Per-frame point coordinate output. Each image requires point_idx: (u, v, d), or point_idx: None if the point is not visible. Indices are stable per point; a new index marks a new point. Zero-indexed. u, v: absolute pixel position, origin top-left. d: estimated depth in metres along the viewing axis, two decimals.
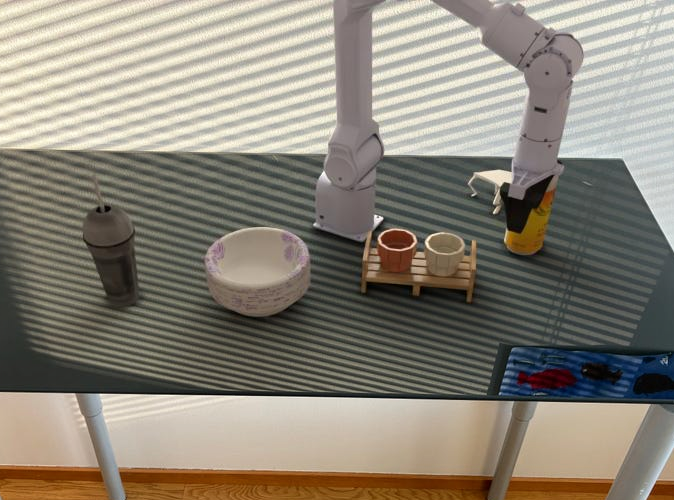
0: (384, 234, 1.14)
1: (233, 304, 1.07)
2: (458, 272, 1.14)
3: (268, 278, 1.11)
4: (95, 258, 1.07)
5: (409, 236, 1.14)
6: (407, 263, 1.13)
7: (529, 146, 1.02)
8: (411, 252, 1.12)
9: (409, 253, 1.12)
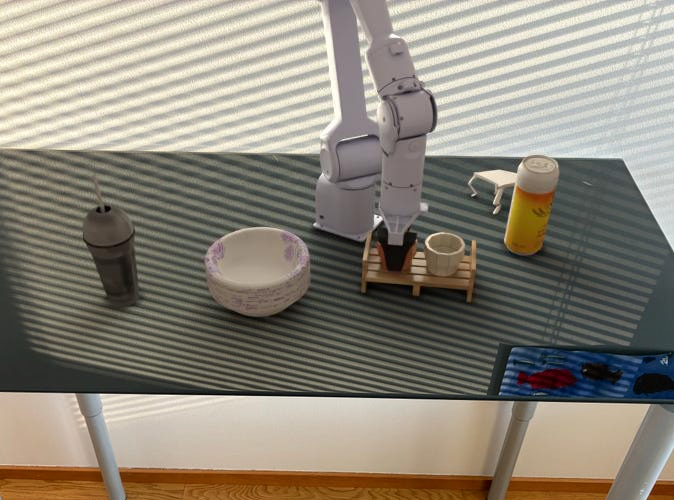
0: None
1: (233, 304, 1.07)
2: (458, 272, 1.14)
3: (268, 278, 1.11)
4: (95, 258, 1.07)
5: None
6: (407, 263, 1.13)
7: (396, 194, 1.04)
8: (411, 252, 1.12)
9: (409, 253, 1.12)
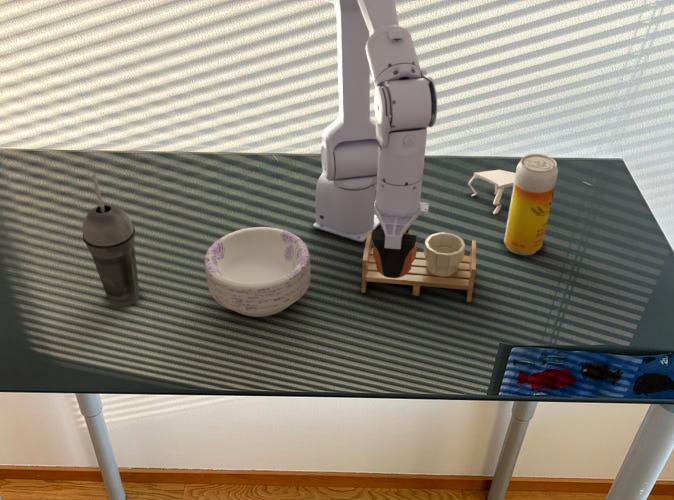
0: None
1: (233, 304, 1.07)
2: (458, 272, 1.14)
3: (268, 278, 1.11)
4: (95, 258, 1.07)
5: None
6: (406, 268, 1.04)
7: (393, 192, 0.95)
8: (410, 256, 1.02)
9: (408, 257, 1.02)
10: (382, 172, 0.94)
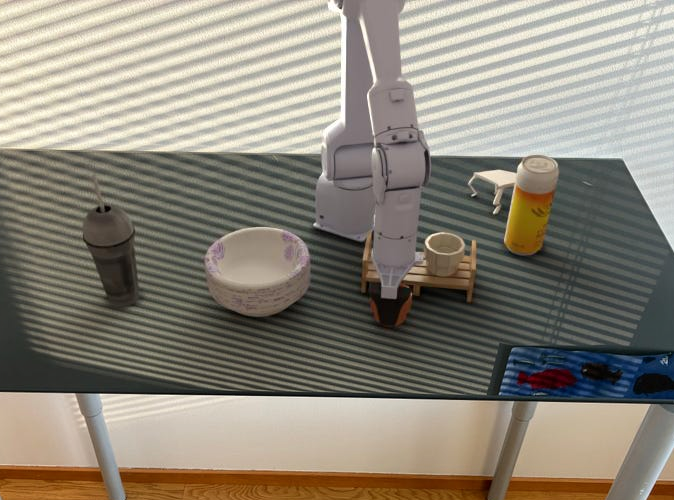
0: None
1: (233, 304, 1.07)
2: (458, 272, 1.14)
3: (268, 278, 1.11)
4: (95, 258, 1.07)
5: None
6: (401, 317, 1.09)
7: (389, 245, 0.99)
8: (405, 306, 1.07)
9: (403, 308, 1.07)
10: (379, 226, 0.99)
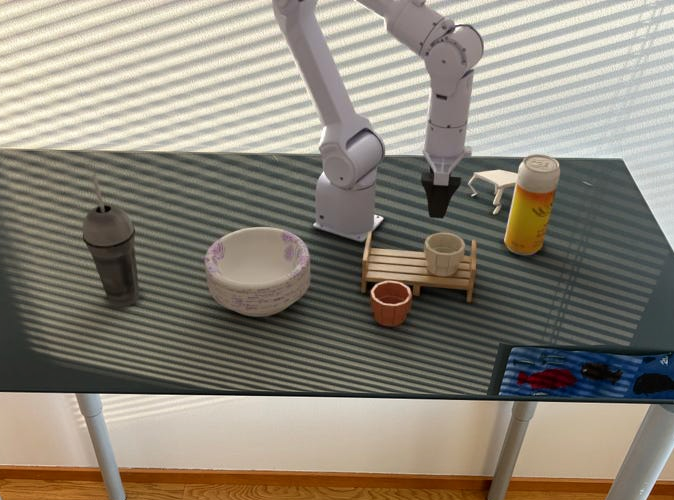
0: (377, 287, 1.10)
1: (233, 304, 1.07)
2: (458, 272, 1.14)
3: (268, 278, 1.11)
4: (95, 258, 1.07)
5: (403, 289, 1.10)
6: (401, 317, 1.09)
7: (442, 134, 1.06)
8: (405, 306, 1.07)
9: (403, 308, 1.07)
10: (446, 120, 1.04)
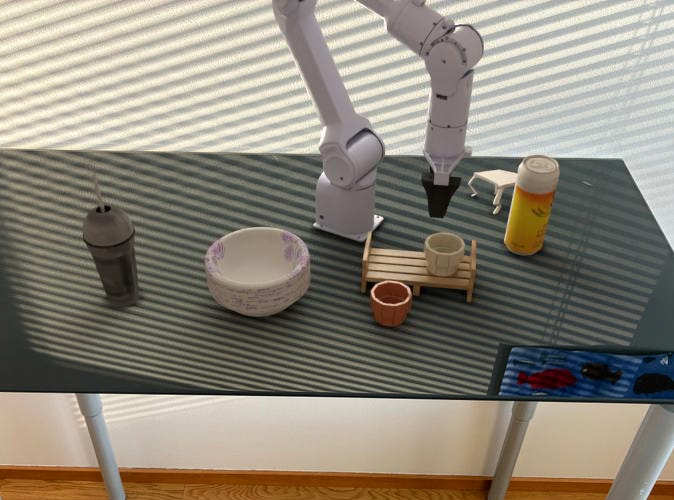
0: (377, 287, 1.10)
1: (233, 304, 1.07)
2: (458, 272, 1.14)
3: (268, 278, 1.11)
4: (95, 258, 1.07)
5: (403, 289, 1.10)
6: (401, 317, 1.09)
7: (442, 134, 1.06)
8: (405, 306, 1.07)
9: (403, 308, 1.07)
10: (446, 120, 1.04)
